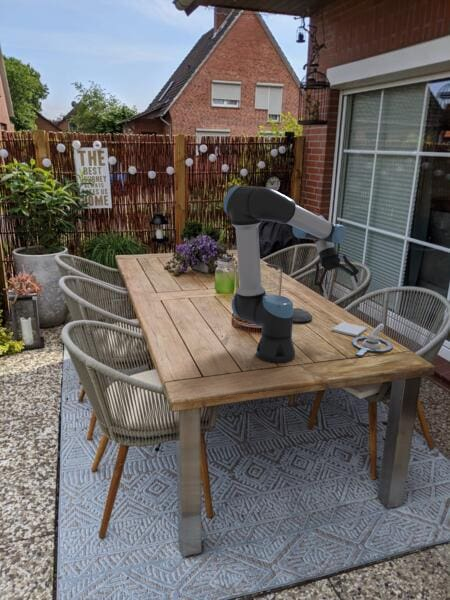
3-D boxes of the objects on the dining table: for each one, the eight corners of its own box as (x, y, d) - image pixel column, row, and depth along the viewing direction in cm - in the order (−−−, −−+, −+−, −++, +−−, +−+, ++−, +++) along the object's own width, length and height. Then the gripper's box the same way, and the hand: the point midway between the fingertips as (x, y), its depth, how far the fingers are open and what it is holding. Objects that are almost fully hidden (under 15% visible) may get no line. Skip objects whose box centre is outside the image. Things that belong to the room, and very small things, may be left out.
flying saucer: (287, 312, 228) (287, 302, 226) (315, 317, 222) (316, 306, 220) (277, 321, 215) (277, 310, 213) (307, 326, 209) (308, 315, 207)
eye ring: (378, 361, 171) (378, 359, 171) (339, 351, 180) (339, 349, 180) (397, 344, 188) (397, 342, 188) (360, 335, 198) (360, 333, 197)
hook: (397, 337, 182) (386, 329, 179) (376, 357, 186) (365, 350, 183) (389, 327, 188) (378, 319, 185) (369, 347, 192) (358, 339, 190)
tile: (356, 337, 195) (357, 334, 195) (331, 330, 202) (331, 328, 202) (366, 329, 205) (367, 327, 204) (342, 323, 212) (342, 321, 211)
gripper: (351, 244, 200) (367, 288, 196) (298, 260, 201) (313, 304, 197) (355, 239, 193) (371, 285, 189) (300, 255, 193) (315, 301, 189)
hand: (342, 295), depth 193 cm, fingers open, 13 cm apart
